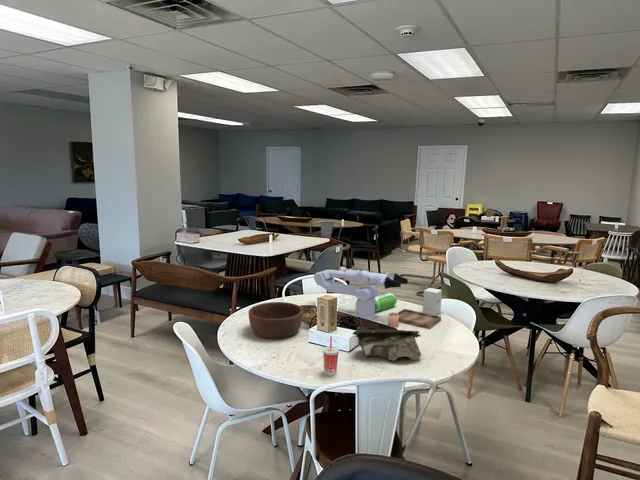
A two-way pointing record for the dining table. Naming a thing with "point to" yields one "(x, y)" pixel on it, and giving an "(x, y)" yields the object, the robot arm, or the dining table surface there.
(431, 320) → the walnut tray
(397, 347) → the mossy rock
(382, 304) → the speaker
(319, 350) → the dining table surface
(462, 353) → the dining table surface
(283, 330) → the wooden bowl
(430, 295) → the supplement box
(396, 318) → the terracotta cup
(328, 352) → the beverage cup
